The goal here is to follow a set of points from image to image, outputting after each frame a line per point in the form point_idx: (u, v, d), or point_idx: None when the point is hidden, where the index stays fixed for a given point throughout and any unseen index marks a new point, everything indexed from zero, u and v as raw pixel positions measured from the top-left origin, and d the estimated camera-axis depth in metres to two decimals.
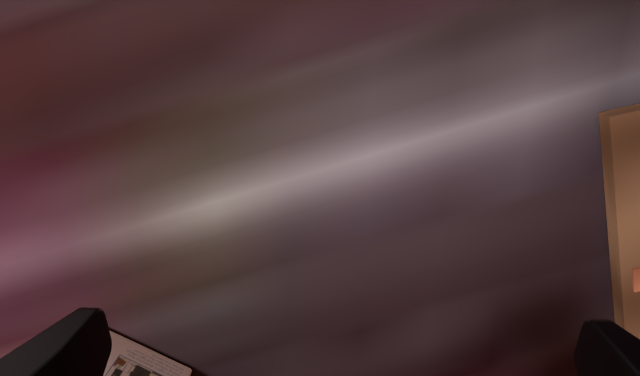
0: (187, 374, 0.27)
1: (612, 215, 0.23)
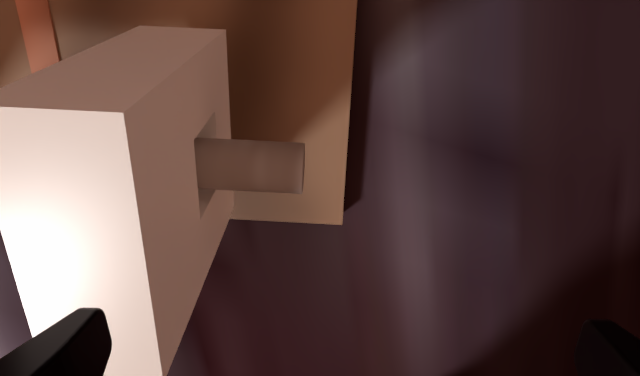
0: None
1: None
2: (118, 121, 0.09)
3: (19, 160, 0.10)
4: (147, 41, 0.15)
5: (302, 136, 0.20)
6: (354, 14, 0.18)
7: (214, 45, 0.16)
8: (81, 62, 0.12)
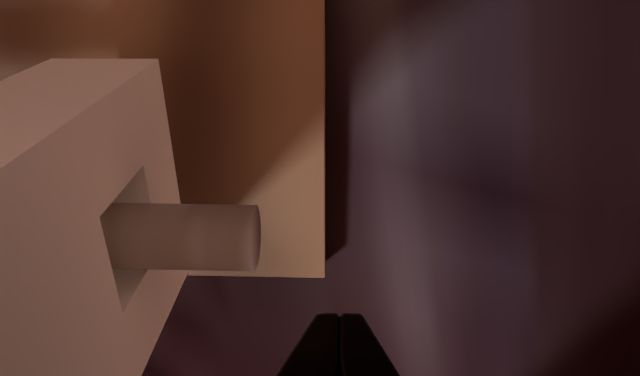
0: None
1: None
2: None
3: None
4: (43, 84, 0.11)
5: (269, 178, 0.17)
6: (321, 31, 0.15)
7: (136, 83, 0.12)
8: None
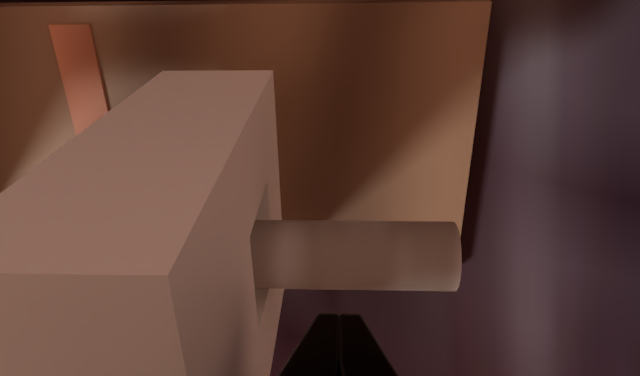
0: None
1: None
2: (159, 289, 0.05)
3: None
4: (177, 98, 0.11)
5: (409, 190, 0.16)
6: (484, 39, 0.14)
7: (264, 96, 0.12)
8: (91, 147, 0.09)
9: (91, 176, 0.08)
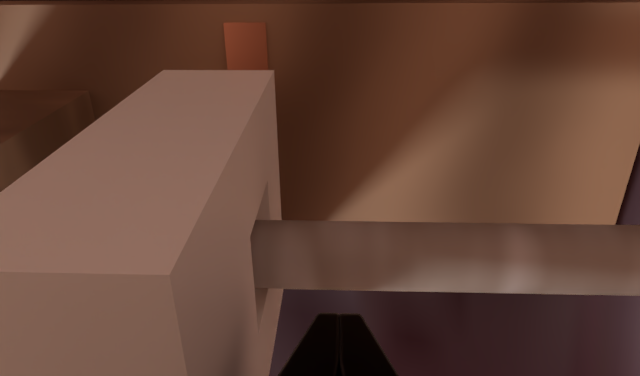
0: None
1: None
2: (160, 288, 0.05)
3: None
4: (178, 98, 0.11)
5: (565, 193, 0.16)
6: None
7: (265, 96, 0.12)
8: (92, 146, 0.09)
9: (92, 175, 0.08)
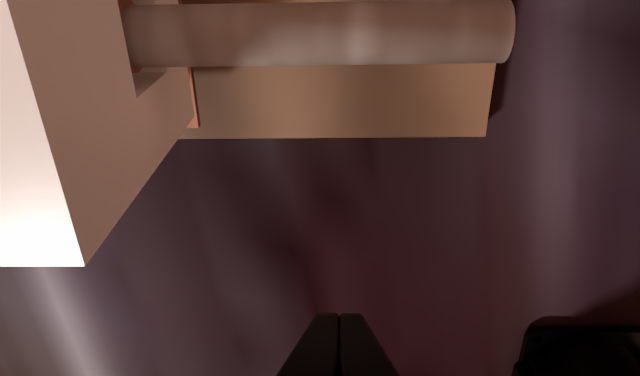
0: None
1: None
2: None
3: None
4: None
5: None
6: None
7: None
8: None
9: None
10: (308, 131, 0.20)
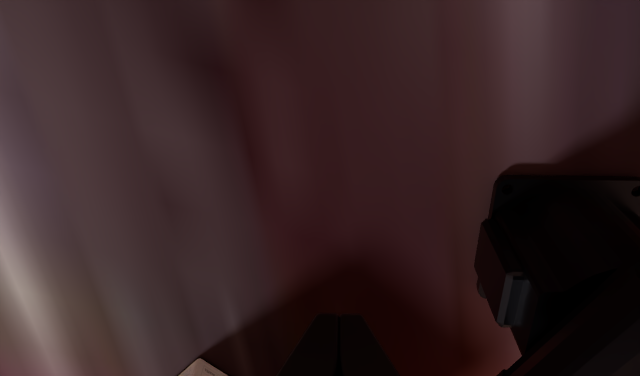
0: (194, 366, 0.27)
1: None
2: None
3: None
4: None
5: None
6: None
7: None
8: None
9: None
10: None
